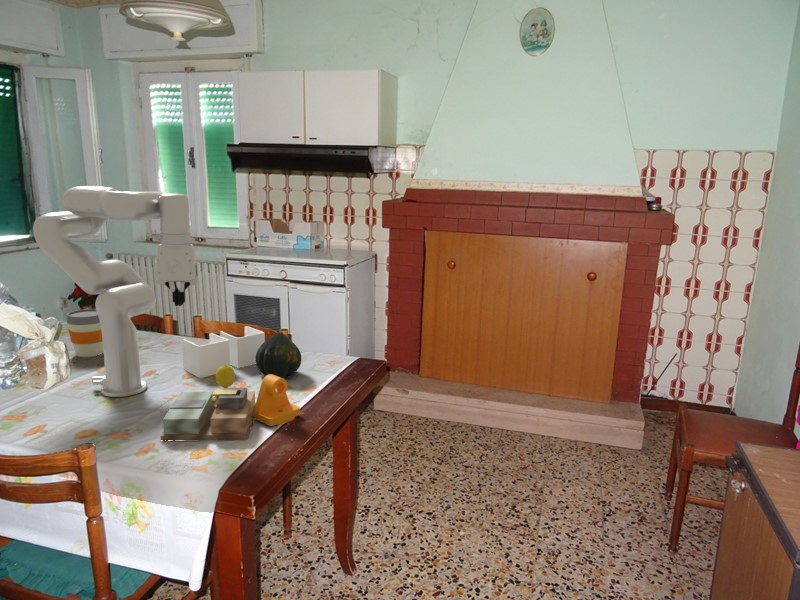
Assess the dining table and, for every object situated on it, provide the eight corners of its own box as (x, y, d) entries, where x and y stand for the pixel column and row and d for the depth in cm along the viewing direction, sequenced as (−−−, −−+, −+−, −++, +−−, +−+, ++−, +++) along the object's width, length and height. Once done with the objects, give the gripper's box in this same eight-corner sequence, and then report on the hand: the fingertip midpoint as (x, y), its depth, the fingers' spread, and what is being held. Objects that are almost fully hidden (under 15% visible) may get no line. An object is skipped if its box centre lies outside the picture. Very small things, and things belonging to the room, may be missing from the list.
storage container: (200, 378, 183) (198, 346, 181) (183, 370, 190) (182, 339, 188) (265, 361, 201) (264, 332, 199) (247, 354, 208) (247, 326, 206)
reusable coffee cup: (98, 359, 197) (94, 317, 194) (62, 358, 197) (58, 316, 194) (116, 348, 209) (113, 309, 206) (82, 347, 209) (79, 308, 206)
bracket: (270, 429, 149) (270, 386, 146) (253, 421, 153) (252, 379, 151) (301, 416, 157) (301, 376, 155) (284, 409, 162) (284, 369, 159)
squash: (262, 371, 175) (289, 331, 180) (240, 360, 186) (266, 323, 191) (292, 392, 184) (317, 354, 188) (270, 381, 195) (294, 345, 199)
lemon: (229, 393, 172) (228, 368, 170) (213, 391, 173) (212, 366, 171) (238, 386, 177) (237, 362, 175) (222, 384, 178) (221, 360, 176)
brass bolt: (211, 407, 146) (210, 396, 146) (214, 400, 151) (214, 389, 150) (234, 407, 147) (234, 396, 146) (237, 400, 152) (237, 389, 151)
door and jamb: (160, 441, 140) (158, 409, 138) (181, 408, 159) (180, 379, 157) (247, 439, 142) (246, 407, 140) (257, 407, 162) (256, 379, 160)
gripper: (142, 240, 149) (147, 307, 153) (201, 241, 151) (203, 308, 155) (151, 237, 156) (155, 301, 160) (207, 238, 158) (209, 302, 162)
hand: (179, 304), depth 158 cm, fingers closed
